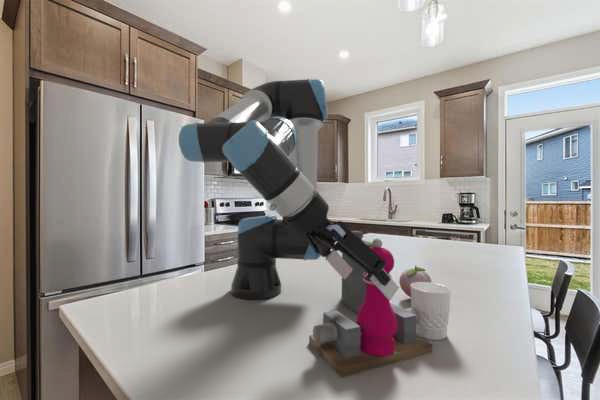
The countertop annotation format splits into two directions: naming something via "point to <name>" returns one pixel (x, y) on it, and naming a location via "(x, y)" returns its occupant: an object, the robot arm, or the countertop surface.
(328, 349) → the block
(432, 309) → the white cup
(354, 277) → the flask
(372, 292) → the pepper mill
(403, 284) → the decorative fruit
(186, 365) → the countertop surface
